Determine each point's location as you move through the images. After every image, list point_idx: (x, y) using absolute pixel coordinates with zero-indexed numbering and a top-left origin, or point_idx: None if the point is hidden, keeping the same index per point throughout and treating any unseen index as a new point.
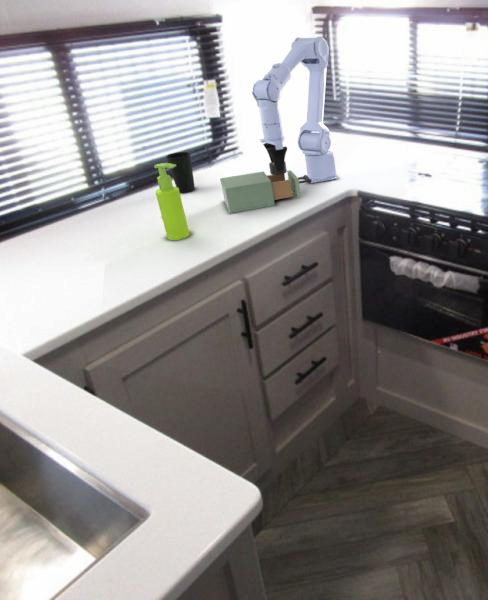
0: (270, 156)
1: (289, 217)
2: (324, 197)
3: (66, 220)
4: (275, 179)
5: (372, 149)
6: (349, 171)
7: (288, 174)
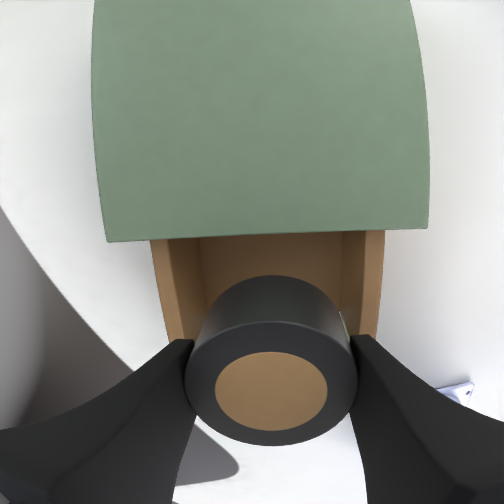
0: (383, 394)
1: (27, 243)
2: None
3: None
4: (355, 282)
5: None
6: None
7: None
